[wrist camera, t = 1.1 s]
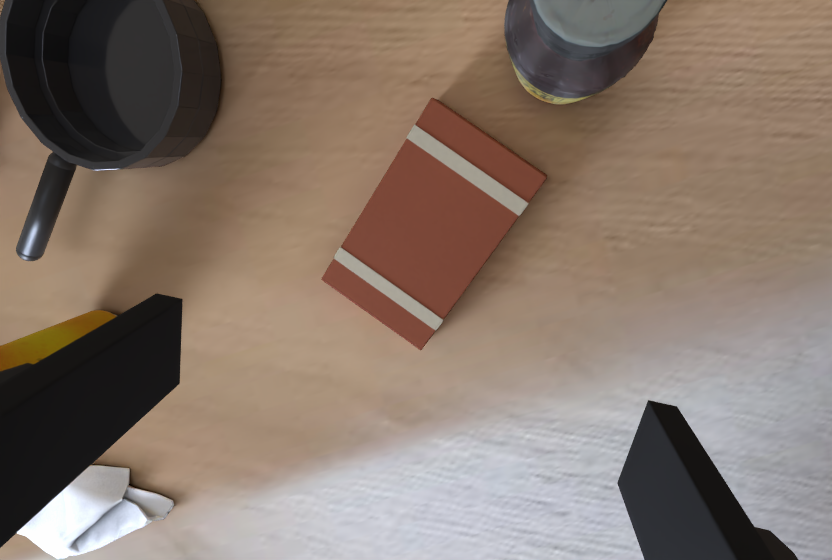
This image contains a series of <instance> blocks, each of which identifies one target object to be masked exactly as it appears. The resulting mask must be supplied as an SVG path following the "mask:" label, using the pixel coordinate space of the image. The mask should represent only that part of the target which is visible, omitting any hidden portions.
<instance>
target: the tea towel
mask: <svg viewBox="0 0 832 560" xmlns="http://www.w3.org/2000/svg"><path fill="white" fill-rule="evenodd" d="M546 179H547V175H546V174H545V173H543V172H542V171H540V170H539V169H537V168H536V167H535V166H533V165H532V164H530V163H529V162H527V161H526V160H524V159H523V158H521V157H520V156H519V155H517V154H516V153H514V152H513V151H511V150H510V149H508V148H507V147H505V146H504V145H503V144H501V143H500V142H498V141H497V140H495V139H494V138H492V137H491V136H489V135H488V134H487V133H485V132H484V131H482V130H481V129H479V128H478V127H476V126H475V125H473V124H472V123H471V122H469V121H468V120H466V119H465V118H463V117H462V116H460V115H459V114H457V113H456V112H455V111H453V110H452V109H450V108H449V107H447V106H446V105H444V104H443V103H441V102H440V101H438V100H436V99H434V98H431V100H430V101H429V103H428V104H427V106H426V108H425V109H424V111H423V113H422V114H421V116H420V118H419V119H418V121H417V123H416V124H415V125H414V126H413V128H412V129H411V131H410V133H409V134H408V136H407V139H406V141H405V142H404V144H403V146H402V147H401V149H400V151H399V152H398V154H397V155H396V157H395V159H394V160H393V162H392V164H391V165H390V167H389V169H388V170H387V172H386V174H385V175H384V177H383V178H382V180H381V182H380V183H379V185H378V187H377V188H376V190H375V192H374V193H373V195H372V197H371V198H370V200H369V201H368V203H367V205H366V206H365V208H364V210H363V211H362V213H361V215H360V216H359V218H358V220H357V221H356V223H355V225H354V226H353V228H352V229H351V231H350V233H349V234H348V236H347V238H346V239H345V241H344V243H343V244H342V246H341V247H340V248H339V249H338V251H337V253H336V254H335V256H334V259H333V261H332V262H331V264H330V266H329V267H328V269H327V271H326V272H325V274H324V275H323V277H322V280H323V281H324V282H325V283H327V284H328V285H330V286H331V287H332V288H334V289H335V290H337V291H338V292H340V293H341V294H342V295H344V296H345V297H347V298H348V299H349V300H351V301H352V302H354V303H355V304H356V305H358V306H359V307H361V308H362V309H363V310H365V311H366V312H368V313H369V314H370V315H372V316H373V317H375V318H376V319H377V320H379V321H380V322H382V323H383V324H384V325H386V326H387V327H389V328H390V329H392V330H393V331H394V332H396V333H397V334H399V335H400V336H401V337H403V338H404V339H406V340H407V341H408V342H410V343H411V344H413V345H414V346H415V347H417V348H418V349H420V350H422V348H423V347H424V346H425V344H426V343H427V342H428V340H429V339H430V338H431V336H432V335H433V333H434V332H435V331H436V330H437V329H438V327H439V326H440V324H441V323H442V322H443V320H444V318H445V317H446V316H447V314H448V313H449V311H450V310H451V309H452V307H453V306H454V305H455V303H456V302H457V300H458V299H459V298H460V296H461V295H462V294H463V292H464V291H465V290H466V288H467V287H468V285H469V284H470V283H471V281H472V280H473V279H474V277H475V276H476V274H477V273H478V272H479V270H480V269H481V268H482V266H483V265H484V263H485V262H486V261H487V259H488V258H489V257H490V255H491V254H492V253H493V251H494V250H495V248H496V247H497V246H498V244H499V243H500V242H501V240H502V239H503V237H504V236H505V235H506V233H507V232H508V231H509V229H510V228H511V226H512V225H513V224H514V222H515V221H516V220H517V218H518V217H519V216H520V215H521V213H522V212H523V211H524V209H525V208H526V207H527V205H528V204H529V202H530V200H531V199H532V198H533V196H534V195H535V194H536V192H537V191H538V189H539V188H540V187H541V185H542V184H543V183H544V181H545V180H546Z"/></svg>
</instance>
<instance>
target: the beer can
mask: <svg viewBox="0 0 832 560" xmlns="http://www.w3.org/2000/svg"><path fill="white" fill-rule="evenodd" d="M115 317H117V315H115V314H112V313H110V312H107V311H102V310H94V311H91V312H88V313H85V314H83V315H80V316H78V317H75V318H72V319H70V320H67V321H65V322H62V323H59V324H57V325H54V326H52V327H49V328H46V329H44V330H41V331H38V332H36V333H33V334H31V335H28V336H25V337H23V338H20V339H18V340H15V341H12V342H10V343H7V344H5V345H2V346H0V371H3V370H6V369H10V368H13V367H16V366H19V365H22V364H25V363H31V364H35V363H37V362H39V361H40V360H42V359H44V358H46V357H47V356H49V355H51V354H53V353H54V352H56V351H58V350H59V349H61V348H63V347H65V346H66V345H68V344H70V343H72V342H73V341H75V340H77V339H79V338H80V337H82V336H84V335H86V334H87V333H89V332H91V331H92V330H94V329H96V328H98V327H99V326H101V325H103V324H105V323H106V322H108V321H110V320H112V319H113V318H115Z"/></svg>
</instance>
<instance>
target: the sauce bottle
mask: <svg viewBox="0 0 832 560" xmlns="http://www.w3.org/2000/svg"><path fill="white" fill-rule="evenodd" d="M666 2H667V0H509V2H508V5H507V9H506V14H505V23H504V29H505V41H506V46H507V50H508V53H509V56H510V59H511V62H512V65H513V67H514V70H515V72H516V75H517V77H518V79H519V81H520V83H521V84H522V85H523V87H524V88H525V89H526V91H528V92H529V93H530V94H531V95H533V96H534V97H536V98H538V99H540V100H542V101H545V102H548V103H552V104H568V103H573V102H576V101H580V100H582V99H585V98H587V97H590V96H592V95H595V94H597V93H599V92H601V91H603V90H605V89H607V88H609V87H610V86H612V85H613V84H615V83H616V82H617V81H618V80H619V79H621V78H623V77H625V76H626V75H627V73H628V72H629V71H630V70H632V69H633V67H634V66H636V64H637V63H638V61H639V60H640V59H641V58H642V56H643V54H644V53H645V52H646V50H647V48H648V46H649V44H650V43H651V42H652V40H653V38H654V32H655V30H656V26H657V22H658V15H659V12H660V11H661V9H662V8H663V6H664V5H665V3H666Z"/></svg>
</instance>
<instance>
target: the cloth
mask: <svg viewBox="0 0 832 560" xmlns="http://www.w3.org/2000/svg"><path fill="white" fill-rule="evenodd" d="M129 478H130V468H121V467H111V466H101V465H90V466H89V467H88V468H87V469H86V470H85V471H83V472H82V473H81V474H80V475H79V476H78V477H77V478H76V479H75V480H74V481H73V482H71V483H70V484H69V485H68V486H67V487H66V488H65V489H64V490H63V491H62V492H61V493H59V494H58V495H57V496H56V497H55V498H54V499H53V500H52V501H51V502H50V503H49V504H47V505H46V506H45V507H44V508H43V509H42V510H41V511H40V512H39V513H38V514H37V515H35V516H34V517H33V518H32V519H31V520H30V521H29V522H28V523H27V524H26V525H24V526H23V527H22V528H21V529H20V530H19V531H18V532H17V534H21V535H24V536H26V537H28V538H29V539H30V540H31V541H33V542H34V543H35V544H36V545H38V546H39V547H40V548H41V549H43V550H44V551H45V552H47V553H49V554H50V555H52V556H54V557H56V558H57V559H64V558H66V557H68V556H69V555H72V556H76V555H79V554H82V553H85V552H89V551H92V550H95V549H98V548H101V547H103V546H105V545H107V544H109V543H111V542H113V541H115V540H117V539H118V538H120V537H122V536H124V535H126V534H128V533H130V532H132V531H134V530H136V529H139V528H142V527H144V526H146V525H147V524H149V523H150V522H152V521H157V520H163V519H165V518H166V516H167V515H168V513H169V512H170V511H171V509H172V508H173V506H174V502H173V500H171V499H169V498H167V497H164V496H162V495H160V494H157V493H153V492H149V491H145V490H141V489H137V488H134V487H131V486H129Z"/></svg>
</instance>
